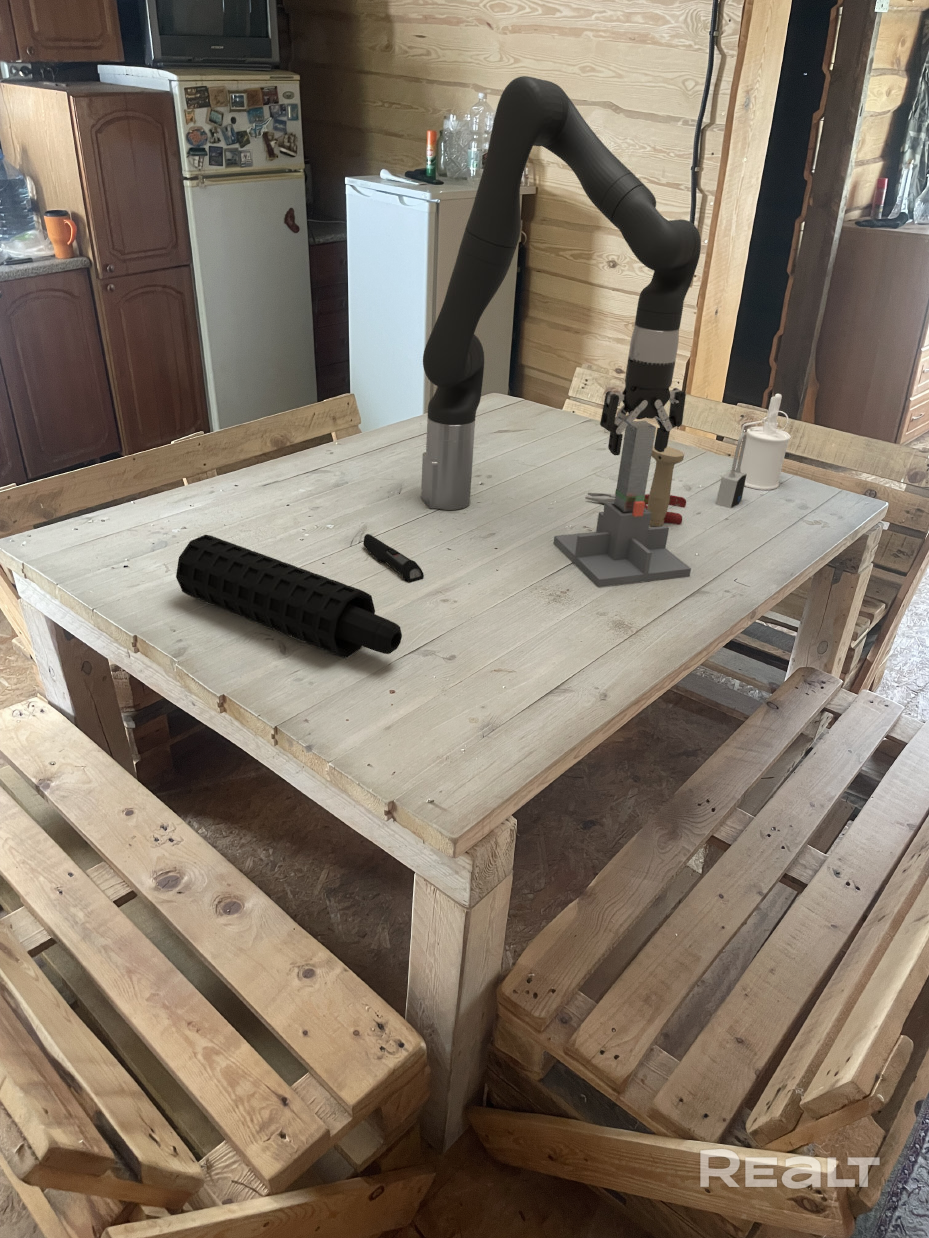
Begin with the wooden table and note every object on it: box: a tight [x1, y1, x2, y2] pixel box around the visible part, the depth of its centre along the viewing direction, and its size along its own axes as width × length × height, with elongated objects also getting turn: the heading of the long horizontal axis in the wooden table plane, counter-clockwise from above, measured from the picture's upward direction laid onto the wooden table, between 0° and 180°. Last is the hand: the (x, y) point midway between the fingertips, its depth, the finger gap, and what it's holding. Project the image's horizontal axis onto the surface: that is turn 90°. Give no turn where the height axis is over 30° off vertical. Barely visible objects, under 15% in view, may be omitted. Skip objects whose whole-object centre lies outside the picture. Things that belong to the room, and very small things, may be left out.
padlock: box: [715, 432, 747, 509], centre depth 187 cm, size 7×4×15 cm, turn 145°
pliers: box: [584, 492, 687, 525], centre depth 184 cm, size 12×20×3 cm, turn 73°
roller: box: [175, 534, 403, 659], centre depth 132 cm, size 38×10×10 cm, turn 58°
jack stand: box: [553, 501, 692, 588], centre depth 159 cm, size 18×18×12 cm
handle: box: [647, 446, 685, 527], centre depth 174 cm, size 5×6×15 cm
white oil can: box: [740, 393, 792, 491], centre depth 197 cm, size 10×9×20 cm
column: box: [614, 420, 657, 514], centre depth 154 cm, size 4×4×17 cm
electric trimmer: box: [363, 533, 425, 583], centre depth 155 cm, size 4×16×3 cm, turn 37°
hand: (636, 452), depth 152 cm, fingers open, 8 cm apart
